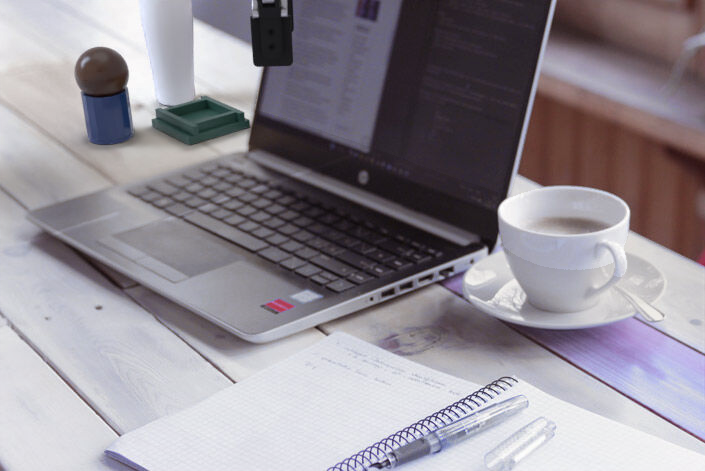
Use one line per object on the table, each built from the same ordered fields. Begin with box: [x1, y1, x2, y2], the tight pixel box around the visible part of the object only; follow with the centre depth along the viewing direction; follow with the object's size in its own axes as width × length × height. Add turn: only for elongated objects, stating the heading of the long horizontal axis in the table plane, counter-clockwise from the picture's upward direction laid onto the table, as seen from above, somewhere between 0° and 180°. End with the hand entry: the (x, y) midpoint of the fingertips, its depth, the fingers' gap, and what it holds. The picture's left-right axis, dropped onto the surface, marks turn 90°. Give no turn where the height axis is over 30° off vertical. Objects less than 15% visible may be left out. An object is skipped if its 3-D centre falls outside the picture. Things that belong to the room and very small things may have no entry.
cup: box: [80, 85, 135, 146], centre depth 117 cm, size 6×6×6 cm
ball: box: [73, 46, 130, 97], centre depth 115 cm, size 6×6×6 cm
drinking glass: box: [138, 0, 196, 107], centre depth 127 cm, size 7×7×15 cm
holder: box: [151, 95, 251, 146], centre depth 121 cm, size 9×9×2 cm
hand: (274, 48), depth 81 cm, fingers open, 9 cm apart
